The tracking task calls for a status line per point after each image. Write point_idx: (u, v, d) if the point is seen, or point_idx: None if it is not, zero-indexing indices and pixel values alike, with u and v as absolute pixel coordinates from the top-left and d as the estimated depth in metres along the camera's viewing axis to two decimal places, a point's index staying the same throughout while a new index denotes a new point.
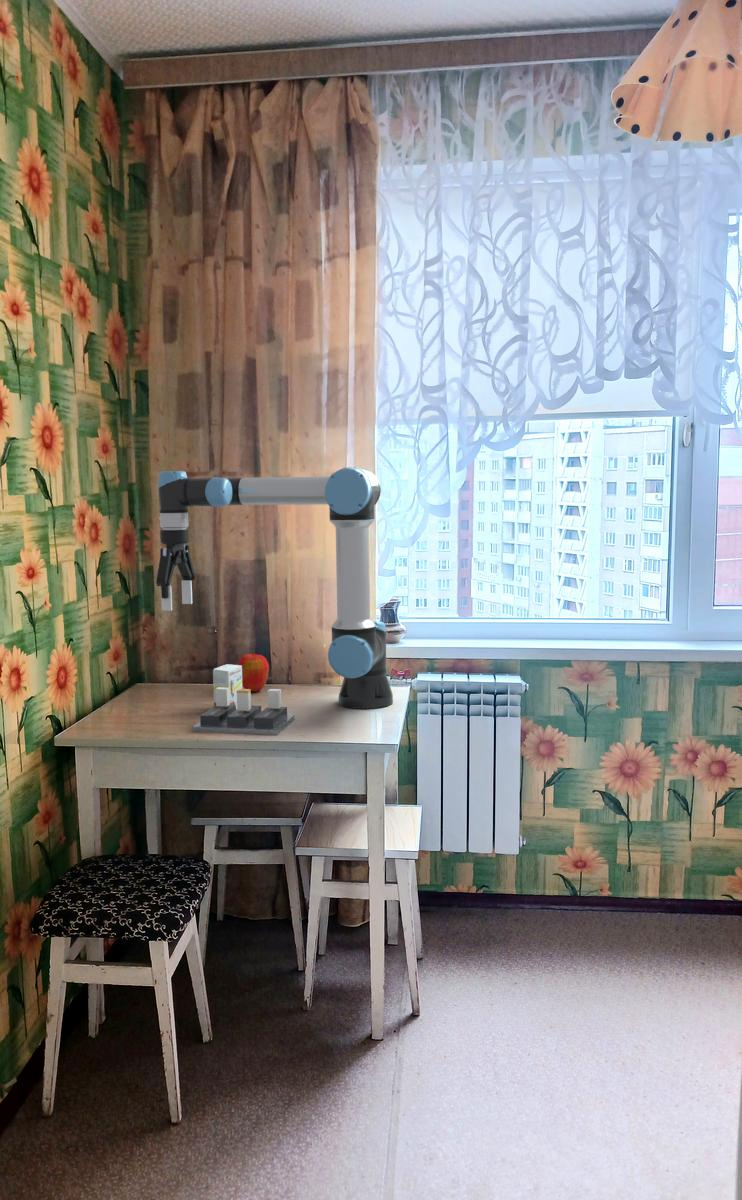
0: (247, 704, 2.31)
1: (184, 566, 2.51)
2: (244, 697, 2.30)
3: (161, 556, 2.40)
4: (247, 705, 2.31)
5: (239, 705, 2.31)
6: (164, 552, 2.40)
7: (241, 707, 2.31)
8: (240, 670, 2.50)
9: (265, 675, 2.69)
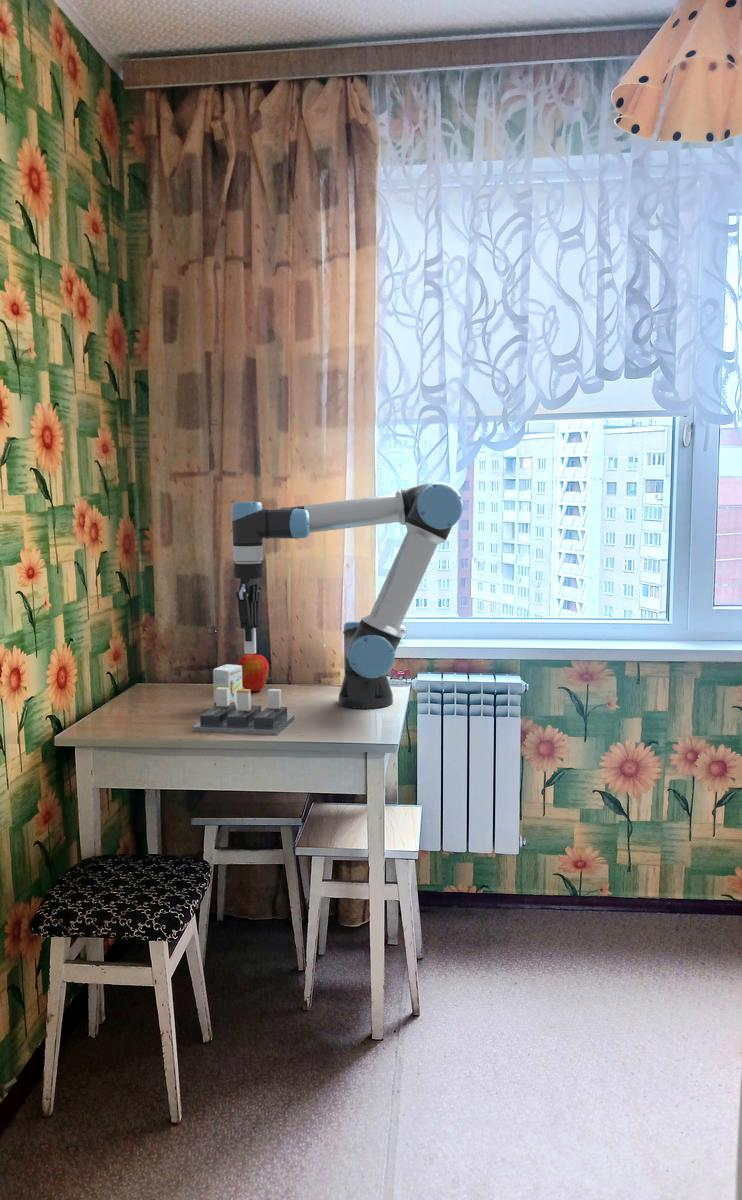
0: (247, 704, 2.31)
1: (253, 605, 2.36)
2: (244, 697, 2.30)
3: (238, 600, 2.30)
4: (247, 705, 2.31)
5: (239, 705, 2.31)
6: (241, 597, 2.29)
7: (241, 707, 2.31)
8: (240, 670, 2.50)
9: (265, 675, 2.69)
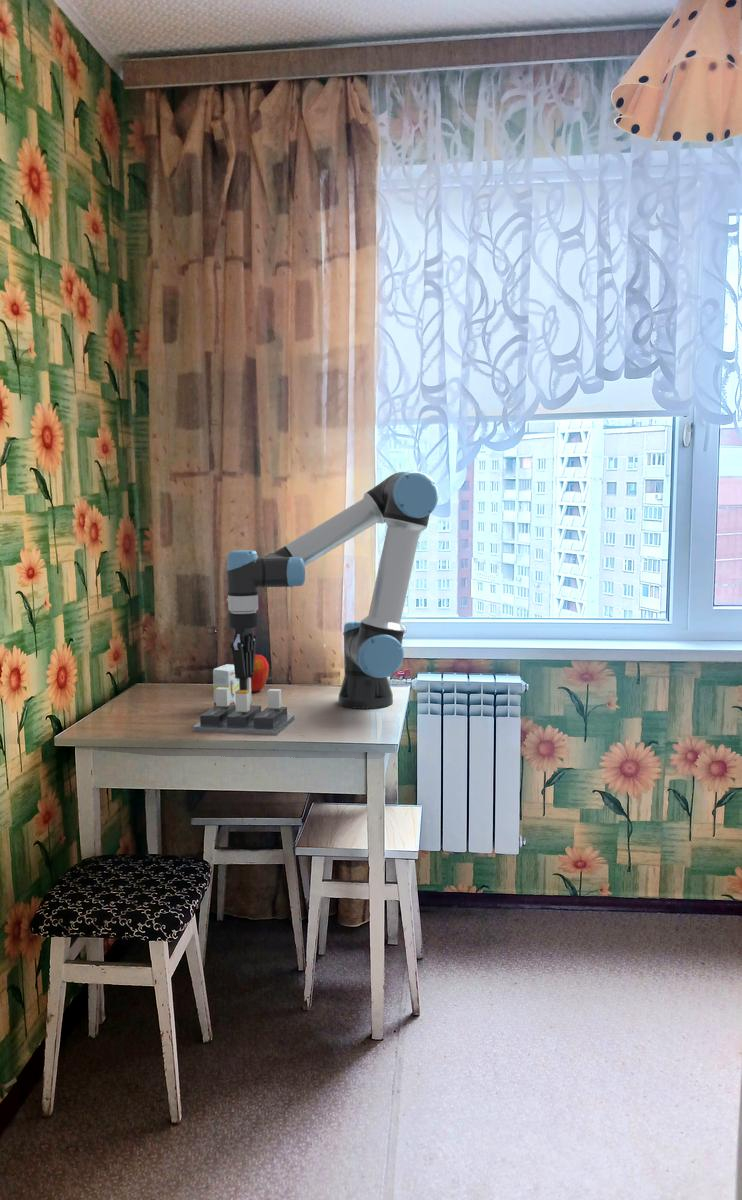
0: (246, 705, 2.30)
1: (248, 655, 2.33)
2: (243, 698, 2.29)
3: (233, 651, 2.27)
4: (246, 706, 2.30)
5: (238, 706, 2.30)
6: (235, 647, 2.26)
7: (239, 708, 2.30)
8: None
9: (265, 675, 2.69)
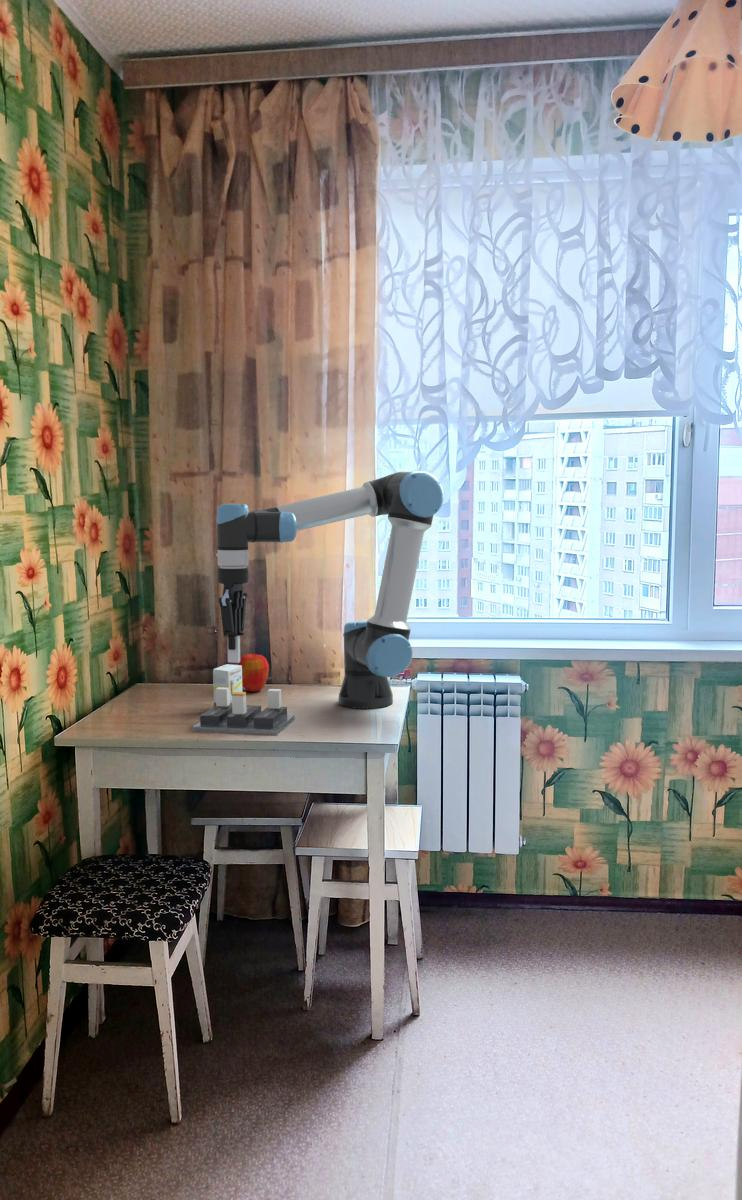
0: (242, 707, 2.27)
1: (237, 612, 2.25)
2: (239, 700, 2.27)
3: (221, 606, 2.20)
4: (242, 708, 2.27)
5: (234, 708, 2.28)
6: (223, 603, 2.19)
7: (236, 710, 2.28)
8: (240, 670, 2.50)
9: (265, 675, 2.69)
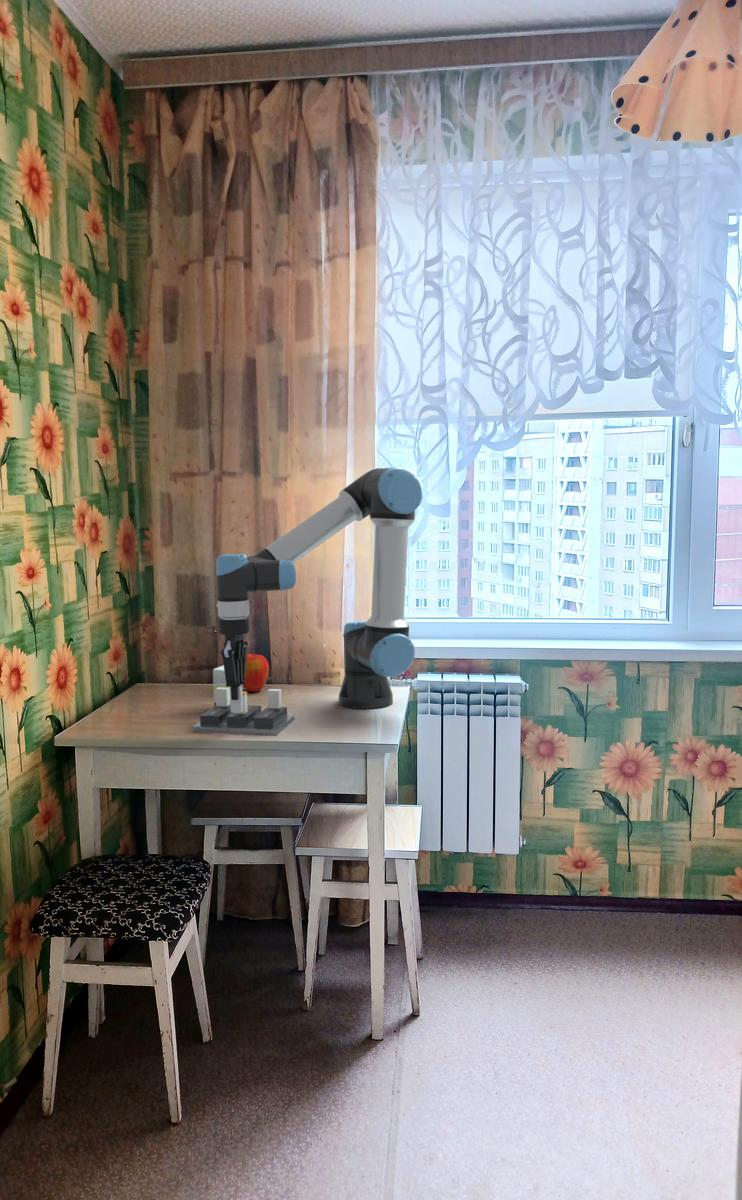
0: (243, 707, 2.28)
1: (239, 662, 2.25)
2: None
3: (224, 658, 2.19)
4: (243, 708, 2.28)
5: None
6: (226, 655, 2.19)
7: None
8: None
9: (265, 675, 2.69)
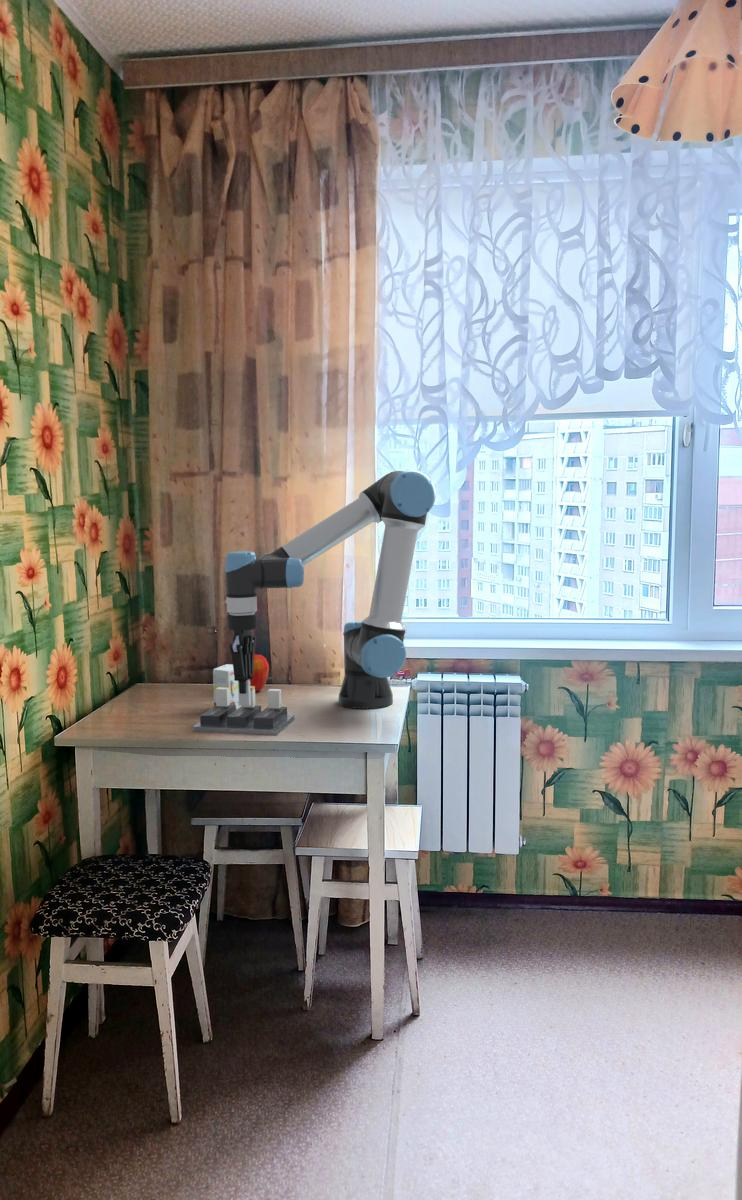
0: (251, 701, 2.34)
1: (247, 657, 2.31)
2: None
3: (232, 653, 2.25)
4: (251, 702, 2.34)
5: None
6: (234, 649, 2.25)
7: None
8: None
9: (265, 675, 2.69)
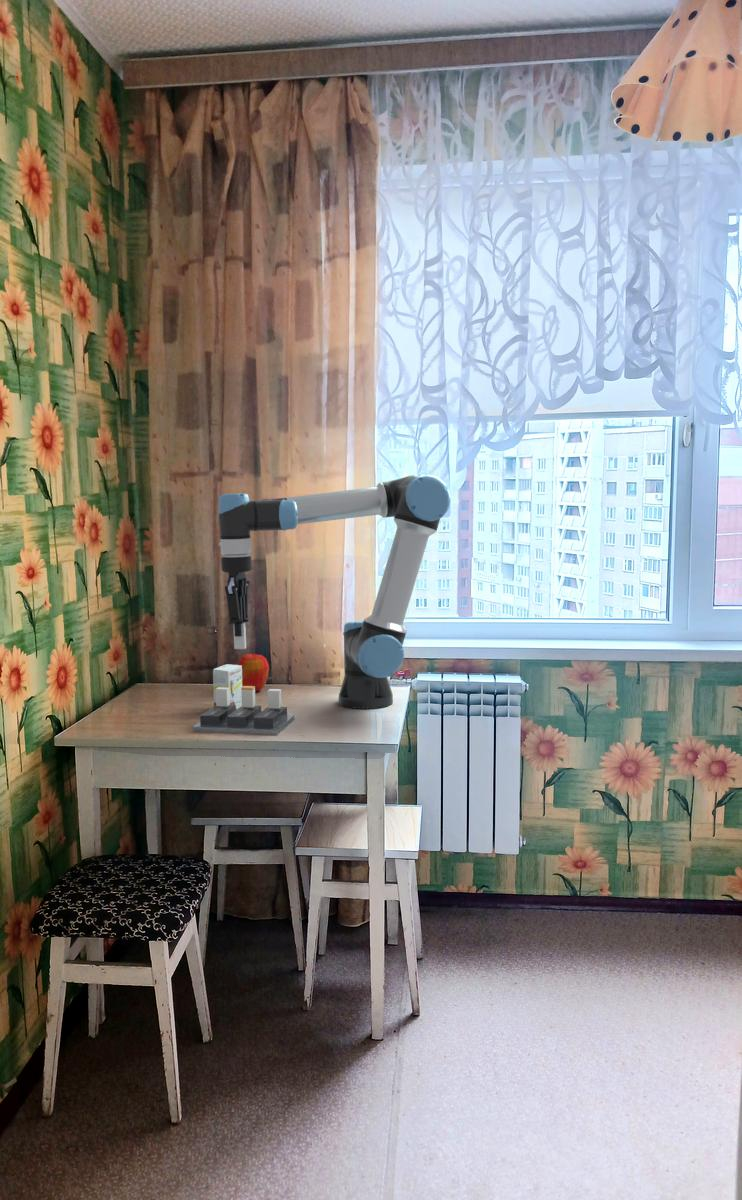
0: (251, 701, 2.34)
1: (242, 599, 2.31)
2: (249, 694, 2.34)
3: (227, 594, 2.25)
4: (251, 702, 2.34)
5: (244, 702, 2.34)
6: (230, 591, 2.24)
7: (245, 704, 2.34)
8: (240, 670, 2.50)
9: (265, 675, 2.69)
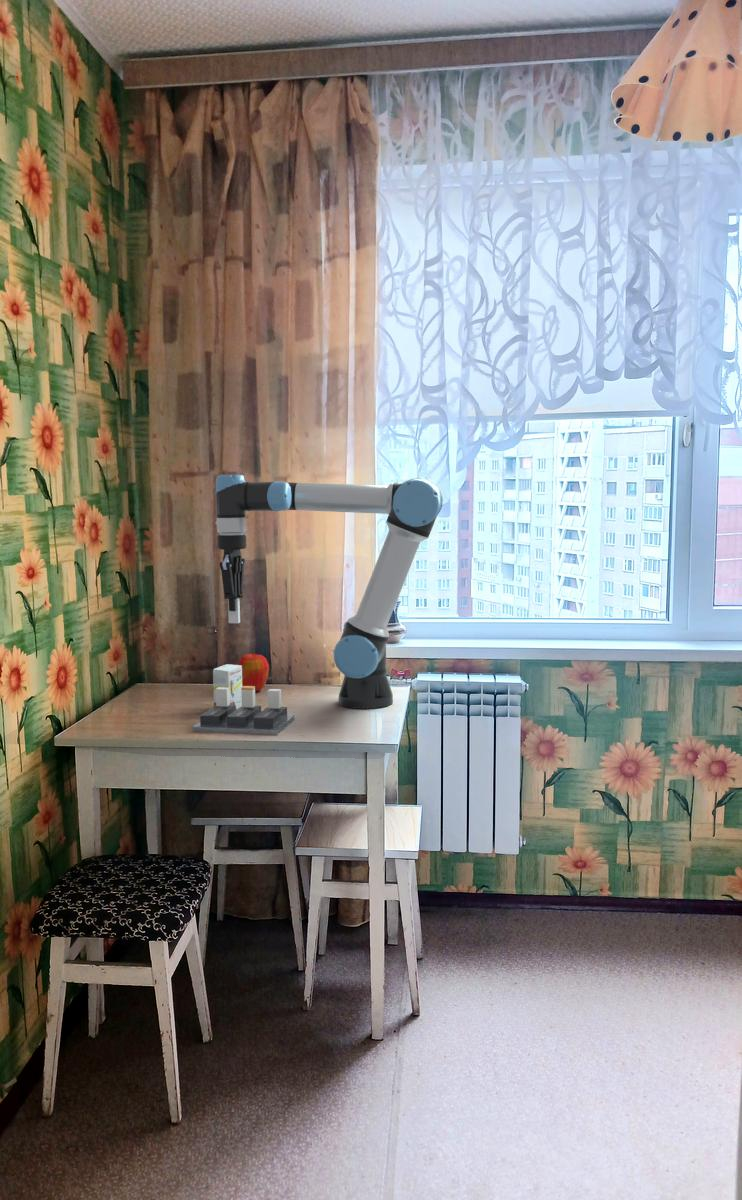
0: (251, 701, 2.34)
1: (236, 576, 2.42)
2: (249, 694, 2.34)
3: (222, 570, 2.36)
4: (251, 702, 2.34)
5: (244, 702, 2.34)
6: (224, 567, 2.35)
7: (245, 704, 2.34)
8: (240, 670, 2.50)
9: (265, 675, 2.69)
